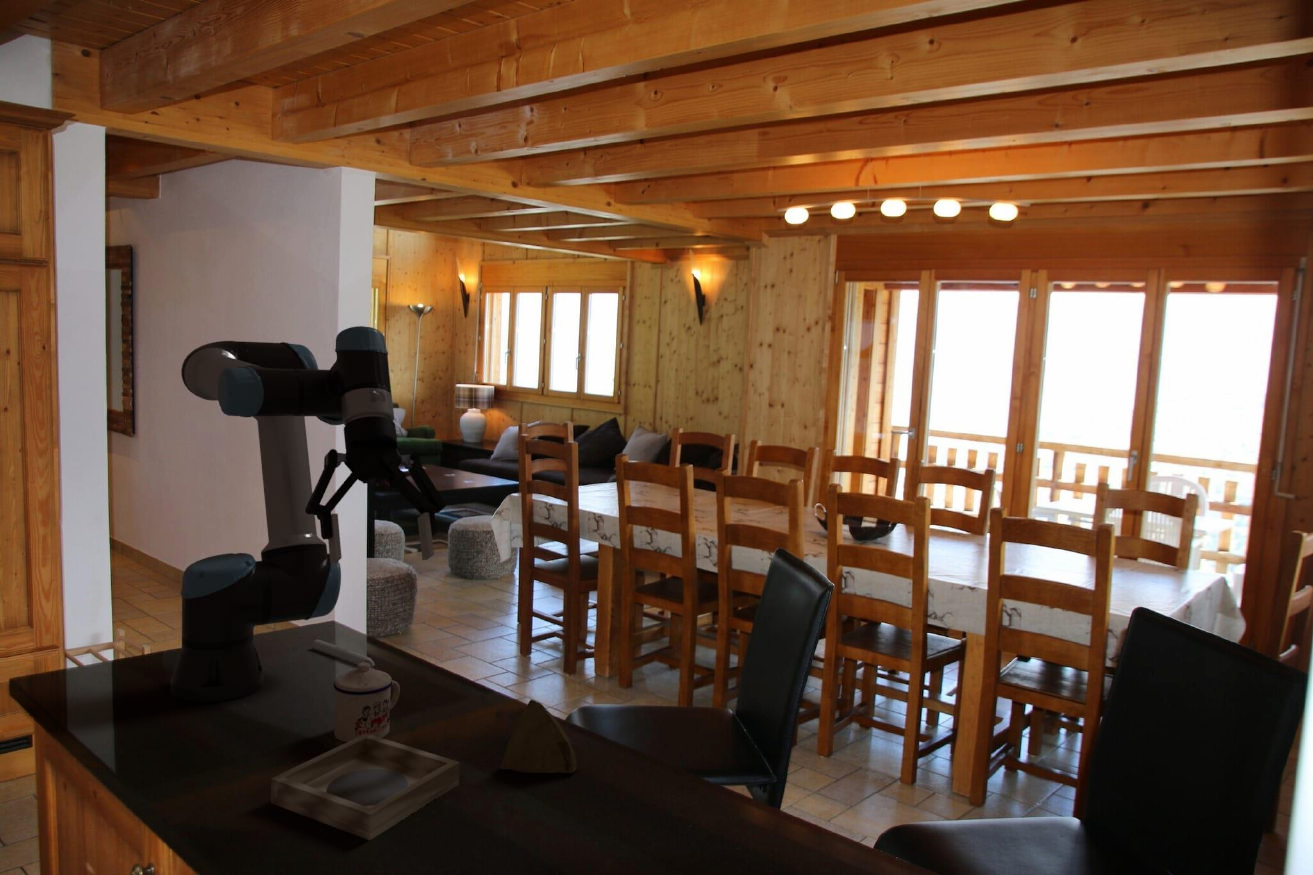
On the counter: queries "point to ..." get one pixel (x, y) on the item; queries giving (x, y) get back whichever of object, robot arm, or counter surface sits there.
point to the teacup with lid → (363, 703)
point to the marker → (341, 653)
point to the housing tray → (365, 785)
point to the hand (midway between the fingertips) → (383, 559)
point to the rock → (539, 744)
